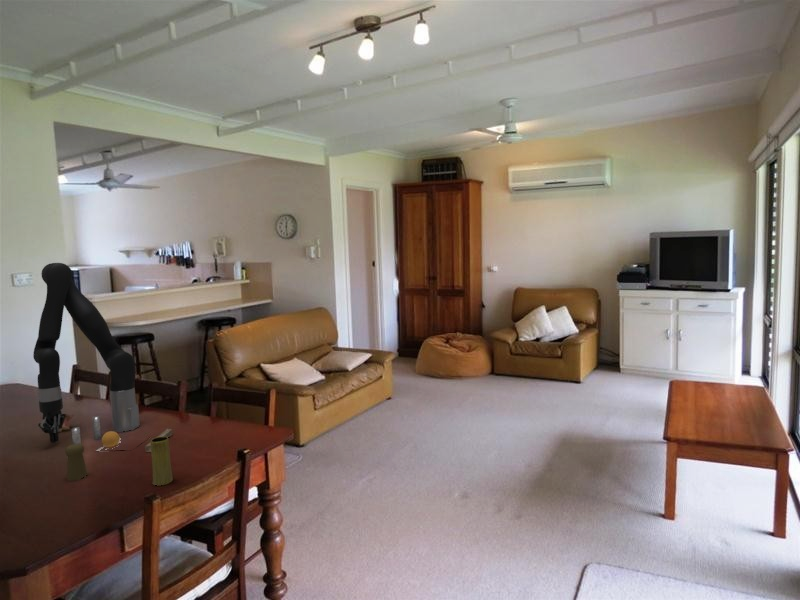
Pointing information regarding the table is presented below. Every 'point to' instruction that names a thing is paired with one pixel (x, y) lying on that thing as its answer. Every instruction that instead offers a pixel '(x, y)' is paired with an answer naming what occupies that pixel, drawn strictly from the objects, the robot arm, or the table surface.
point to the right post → (97, 427)
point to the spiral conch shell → (66, 423)
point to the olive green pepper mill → (75, 462)
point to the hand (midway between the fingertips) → (54, 441)
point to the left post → (76, 435)
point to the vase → (161, 461)
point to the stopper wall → (165, 433)
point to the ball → (110, 439)
